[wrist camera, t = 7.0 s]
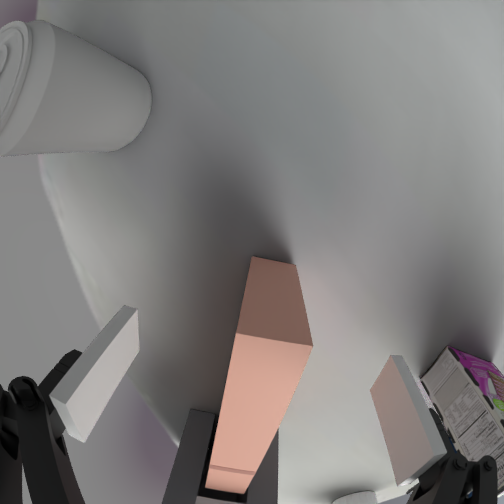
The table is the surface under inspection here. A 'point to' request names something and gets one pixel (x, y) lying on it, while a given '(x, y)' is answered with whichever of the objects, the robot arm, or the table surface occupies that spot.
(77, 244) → the table surface
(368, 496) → the mug
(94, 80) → the beverage can
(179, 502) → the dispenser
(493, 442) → the candy bar box
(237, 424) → the tall pink prism
